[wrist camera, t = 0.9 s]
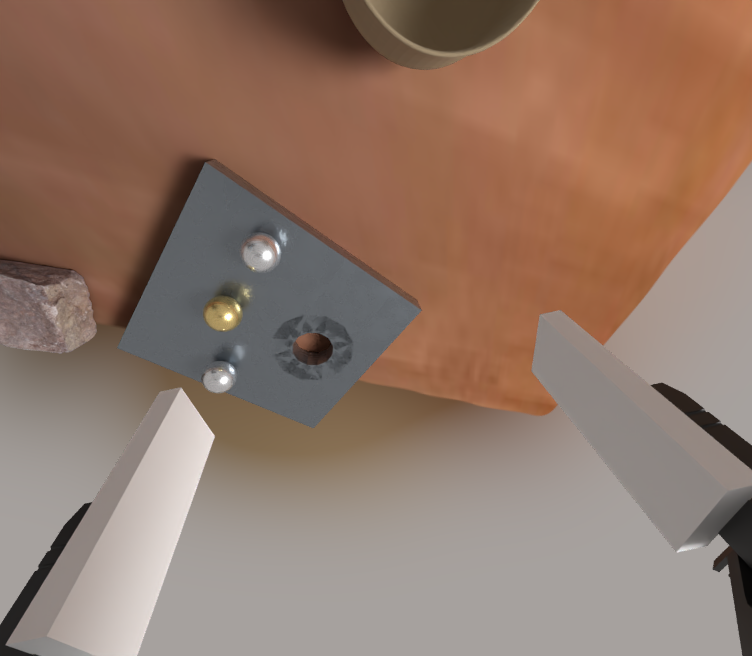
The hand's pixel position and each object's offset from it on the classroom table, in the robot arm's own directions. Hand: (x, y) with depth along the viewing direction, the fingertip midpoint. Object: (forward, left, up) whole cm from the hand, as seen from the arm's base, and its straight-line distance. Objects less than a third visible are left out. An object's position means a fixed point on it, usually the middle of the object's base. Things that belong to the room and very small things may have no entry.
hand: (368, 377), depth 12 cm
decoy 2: (-2, -21, -20) cm, 29 cm away
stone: (-21, -25, -24) cm, 41 cm away
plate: (0, -14, -24) cm, 27 cm away
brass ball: (-5, -14, -20) cm, 24 cm away
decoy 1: (-5, -6, -20) cm, 21 cm away
